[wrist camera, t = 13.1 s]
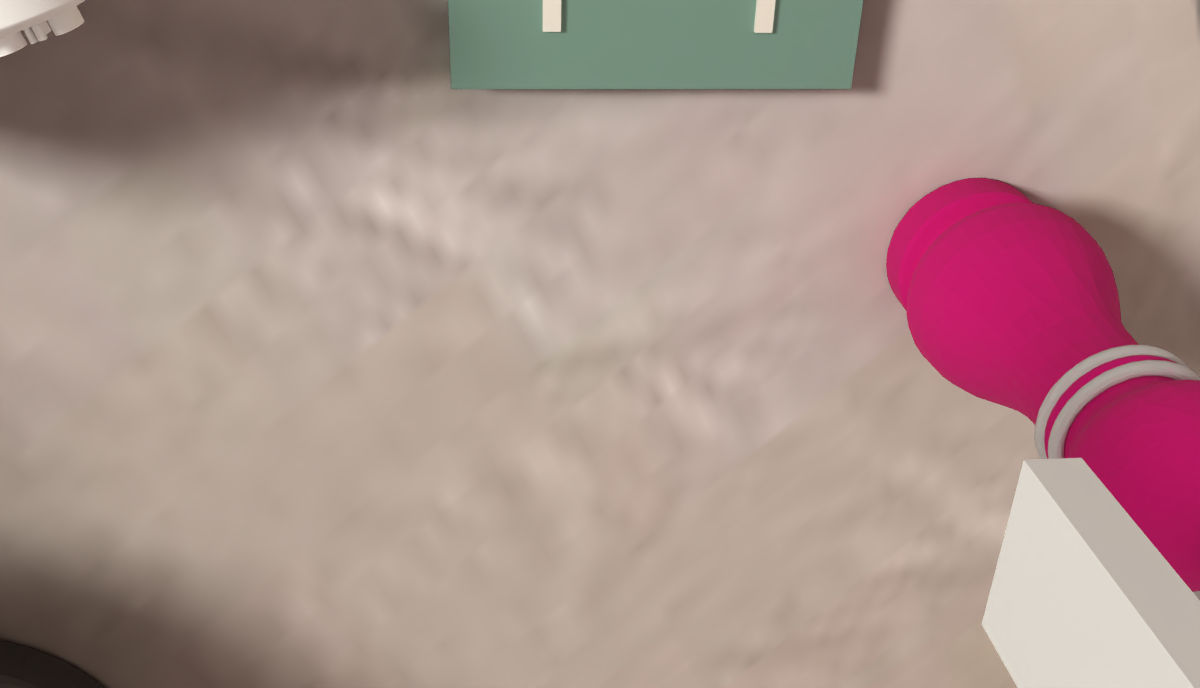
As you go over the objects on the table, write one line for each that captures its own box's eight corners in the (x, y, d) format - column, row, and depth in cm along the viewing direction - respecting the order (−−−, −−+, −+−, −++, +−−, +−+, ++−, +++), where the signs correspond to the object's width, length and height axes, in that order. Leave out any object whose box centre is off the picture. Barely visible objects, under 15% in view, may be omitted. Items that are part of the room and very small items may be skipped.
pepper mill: (907, 357, 48) (1162, 729, 30) (846, 219, 44) (1094, 548, 27) (1069, 279, 47) (1430, 617, 29) (1020, 131, 43) (1395, 414, 26)
